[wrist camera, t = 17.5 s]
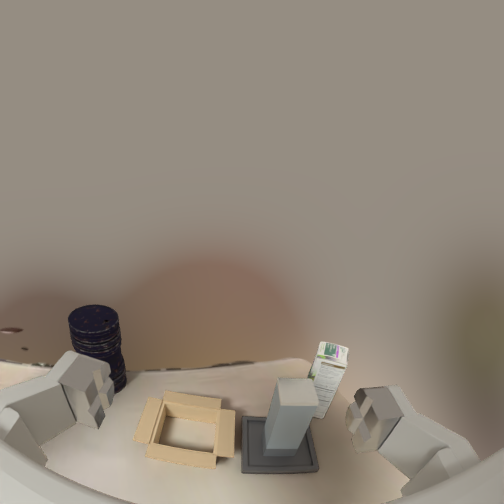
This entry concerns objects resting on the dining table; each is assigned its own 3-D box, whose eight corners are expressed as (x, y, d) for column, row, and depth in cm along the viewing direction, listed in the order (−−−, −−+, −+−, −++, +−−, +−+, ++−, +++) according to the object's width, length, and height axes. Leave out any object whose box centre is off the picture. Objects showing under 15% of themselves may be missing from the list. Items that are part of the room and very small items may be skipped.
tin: (263, 456, 35) (281, 402, 31) (262, 433, 40) (277, 377, 36) (294, 456, 35) (319, 402, 31) (290, 433, 40) (312, 378, 36)
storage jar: (74, 386, 40) (57, 323, 36) (94, 359, 50) (84, 300, 46) (117, 402, 41) (104, 338, 37) (133, 371, 50) (127, 310, 46)
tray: (241, 473, 31) (242, 470, 31) (241, 419, 43) (242, 416, 43) (316, 472, 32) (319, 468, 32) (305, 421, 44) (307, 418, 43)
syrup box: (300, 395, 51) (318, 339, 47) (327, 401, 49) (349, 346, 46) (295, 413, 46) (314, 356, 42) (324, 420, 44) (348, 364, 40)
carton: (133, 462, 29) (128, 451, 28) (153, 401, 44) (152, 387, 43) (231, 480, 30) (233, 469, 29) (233, 413, 44) (235, 400, 43)
